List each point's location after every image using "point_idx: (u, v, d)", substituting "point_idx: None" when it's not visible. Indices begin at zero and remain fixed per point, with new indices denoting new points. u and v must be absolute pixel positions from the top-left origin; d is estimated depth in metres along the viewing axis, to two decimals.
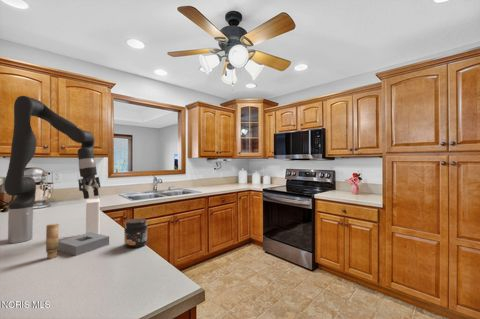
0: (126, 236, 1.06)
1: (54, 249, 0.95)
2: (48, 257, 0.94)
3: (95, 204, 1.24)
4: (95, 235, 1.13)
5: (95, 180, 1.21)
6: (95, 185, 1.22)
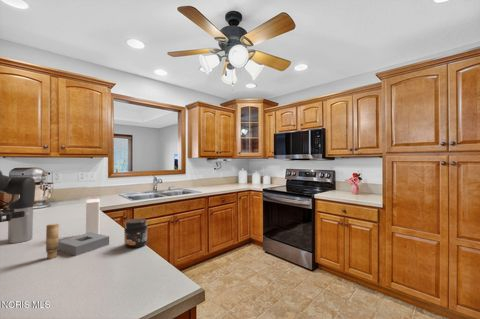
0: (126, 236, 1.06)
1: (54, 249, 0.95)
2: (48, 257, 0.94)
3: (95, 204, 1.24)
4: (95, 235, 1.13)
5: None
6: None
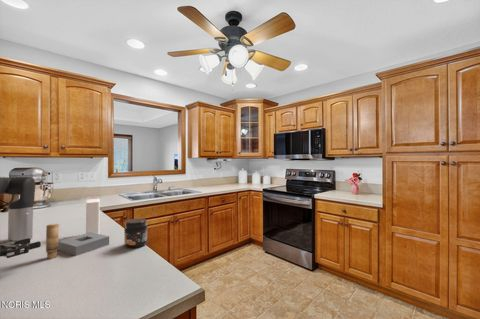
0: (126, 236, 1.06)
1: (54, 249, 0.95)
2: (48, 257, 0.94)
3: (95, 204, 1.24)
4: (95, 235, 1.13)
5: None
6: None
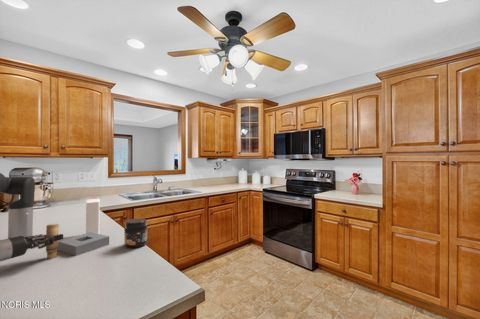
0: (126, 236, 1.06)
1: (54, 249, 0.95)
2: (48, 257, 0.94)
3: (95, 204, 1.24)
4: (95, 235, 1.13)
5: None
6: None
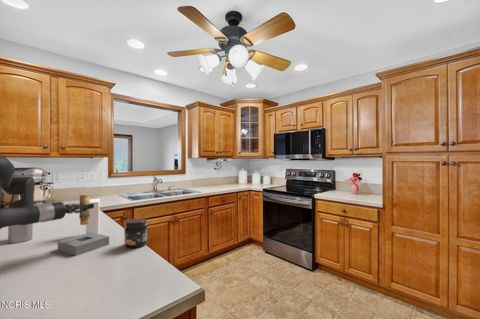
0: (126, 236, 1.06)
1: (86, 216, 1.07)
2: (81, 223, 1.06)
3: (95, 204, 1.24)
4: (95, 235, 1.13)
5: (71, 213, 1.01)
6: None
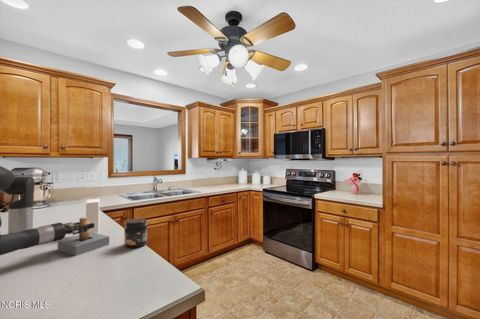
0: (126, 236, 1.06)
1: None
2: None
3: (95, 204, 1.24)
4: (95, 235, 1.13)
5: (71, 233, 1.01)
6: None
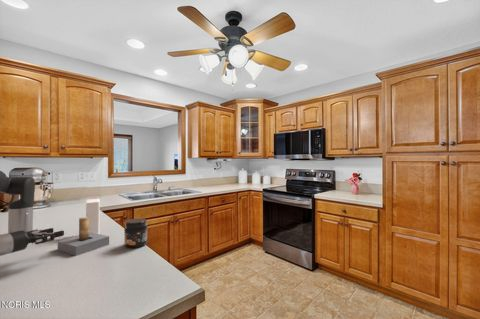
0: (126, 236, 1.06)
1: None
2: None
3: (95, 204, 1.24)
4: (95, 235, 1.13)
5: None
6: None
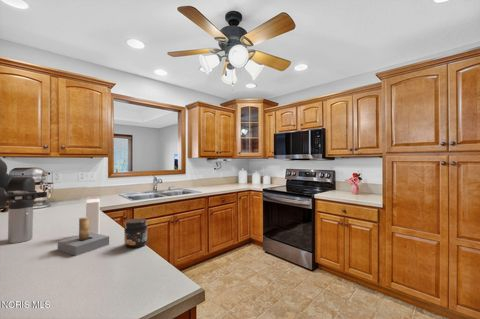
0: (126, 236, 1.06)
1: None
2: None
3: (95, 204, 1.24)
4: (95, 235, 1.13)
5: None
6: None
